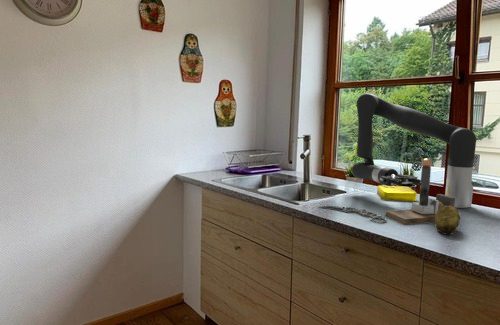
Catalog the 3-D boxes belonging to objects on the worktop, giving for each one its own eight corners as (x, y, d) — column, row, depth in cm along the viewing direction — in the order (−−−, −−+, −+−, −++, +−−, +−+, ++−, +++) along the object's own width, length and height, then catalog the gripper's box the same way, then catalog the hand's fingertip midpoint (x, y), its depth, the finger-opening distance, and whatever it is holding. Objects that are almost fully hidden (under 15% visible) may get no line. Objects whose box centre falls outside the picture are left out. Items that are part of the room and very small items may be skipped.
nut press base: (435, 212, 144) (436, 192, 143) (457, 220, 134) (459, 199, 132) (385, 216, 138) (386, 195, 137) (404, 224, 127) (406, 202, 126)
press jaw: (423, 209, 140) (428, 157, 137) (437, 213, 133) (442, 159, 130) (410, 209, 138) (414, 157, 136) (423, 214, 132) (428, 159, 129)
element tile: (382, 200, 164) (383, 190, 164) (376, 193, 179) (376, 184, 178) (417, 202, 162) (418, 192, 162) (407, 195, 177) (408, 185, 176)
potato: (425, 232, 120) (427, 208, 119) (439, 224, 129) (441, 202, 128) (453, 238, 114) (455, 213, 113) (465, 229, 123) (467, 206, 122)
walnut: (438, 210, 140) (439, 200, 139) (446, 212, 136) (447, 202, 136) (429, 210, 139) (430, 200, 138) (437, 213, 135) (438, 203, 134)
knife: (317, 206, 148) (333, 201, 155) (317, 209, 149) (333, 204, 155) (380, 223, 127) (395, 216, 133) (379, 227, 127) (394, 221, 133)
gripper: (371, 167, 155) (395, 174, 139) (399, 167, 159) (426, 172, 143) (370, 185, 156) (394, 193, 140) (398, 183, 160) (425, 191, 144)
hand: (410, 182), depth 142 cm, fingers open, 8 cm apart
